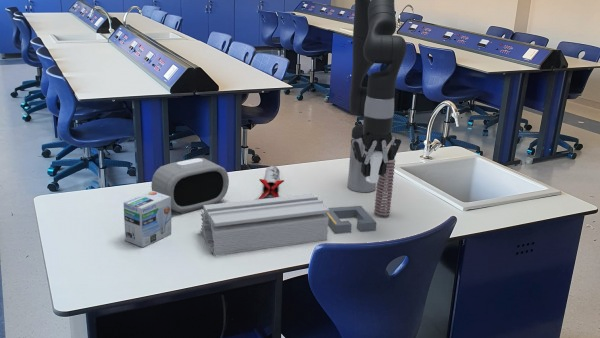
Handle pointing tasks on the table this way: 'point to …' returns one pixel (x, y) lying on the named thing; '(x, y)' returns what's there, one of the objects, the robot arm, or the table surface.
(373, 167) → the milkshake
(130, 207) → the light bulb box
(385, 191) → the coil
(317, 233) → the aluminum extrusion profile
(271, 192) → the model rocket
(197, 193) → the alarm clock
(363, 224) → the grey flat c-shaped piece
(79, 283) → the table surface
